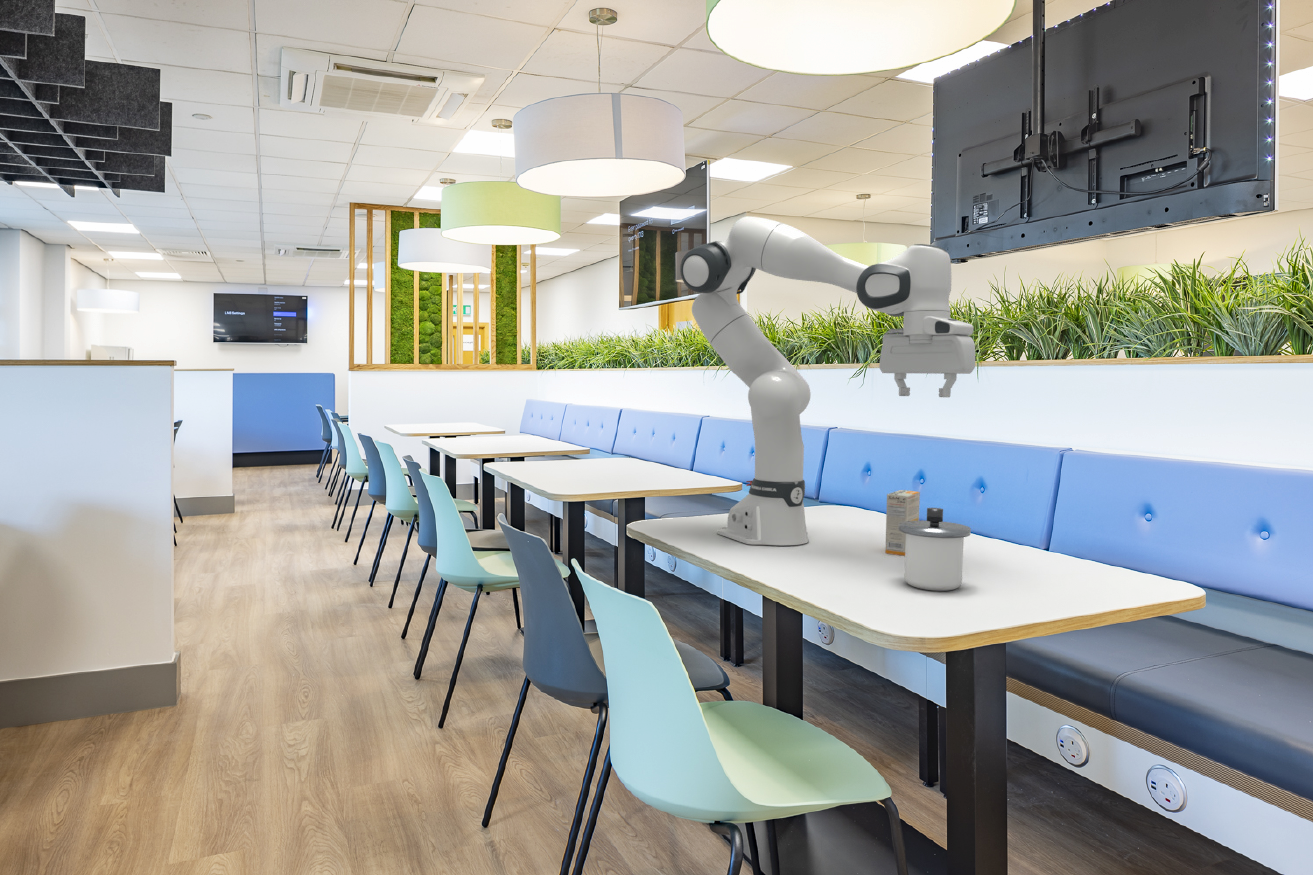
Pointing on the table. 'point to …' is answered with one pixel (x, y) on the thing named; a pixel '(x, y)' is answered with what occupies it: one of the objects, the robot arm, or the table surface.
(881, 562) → the table surface
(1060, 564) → the table surface
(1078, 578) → the table surface
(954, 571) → the cup
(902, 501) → the supplement box
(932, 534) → the lid
